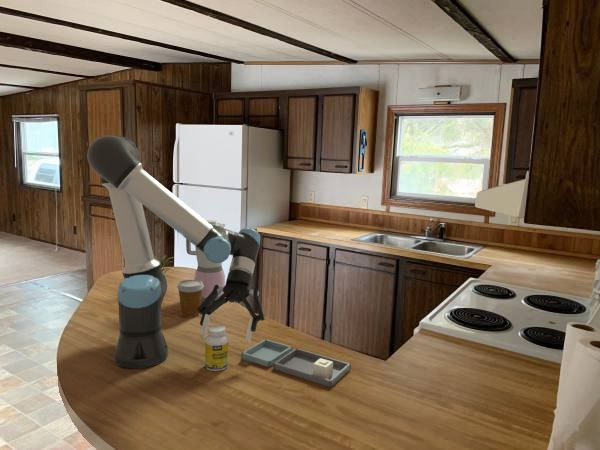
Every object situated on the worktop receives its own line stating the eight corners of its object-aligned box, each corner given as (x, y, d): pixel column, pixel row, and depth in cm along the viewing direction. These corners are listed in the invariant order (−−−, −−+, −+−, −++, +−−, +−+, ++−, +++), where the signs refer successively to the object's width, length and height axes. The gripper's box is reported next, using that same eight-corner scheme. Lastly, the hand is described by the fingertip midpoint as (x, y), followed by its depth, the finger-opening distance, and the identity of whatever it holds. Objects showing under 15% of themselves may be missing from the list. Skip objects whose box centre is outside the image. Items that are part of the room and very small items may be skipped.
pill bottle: (206, 373, 132) (205, 333, 130) (204, 362, 138) (204, 324, 136) (229, 370, 134) (229, 331, 132) (226, 360, 140) (227, 323, 138)
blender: (220, 292, 202) (220, 218, 196) (229, 301, 191) (230, 222, 186) (182, 296, 195) (182, 219, 189) (190, 306, 184) (189, 224, 178)
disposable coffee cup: (200, 319, 171) (200, 287, 169) (174, 318, 171) (173, 286, 169) (206, 310, 180) (206, 279, 178) (181, 309, 181) (181, 278, 178)
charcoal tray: (330, 390, 125) (331, 381, 125) (273, 371, 134) (273, 363, 134) (350, 371, 136) (350, 363, 135) (296, 355, 145) (296, 347, 144)
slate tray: (269, 370, 135) (269, 361, 135) (241, 360, 140) (241, 352, 140) (292, 354, 145) (292, 346, 145) (265, 346, 151) (265, 338, 150)
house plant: (184, 291, 201) (184, 254, 198) (158, 300, 190) (158, 260, 187) (161, 285, 209) (160, 249, 206) (135, 293, 197) (133, 254, 194)
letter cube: (325, 381, 128) (326, 367, 127) (312, 377, 130) (313, 363, 130) (332, 375, 132) (333, 361, 131) (319, 371, 134) (320, 357, 133)
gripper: (281, 283, 149) (268, 348, 138) (205, 276, 154) (187, 339, 142) (277, 271, 143) (264, 338, 132) (199, 265, 148) (179, 329, 136)
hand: (224, 339), depth 137 cm, fingers open, 13 cm apart
